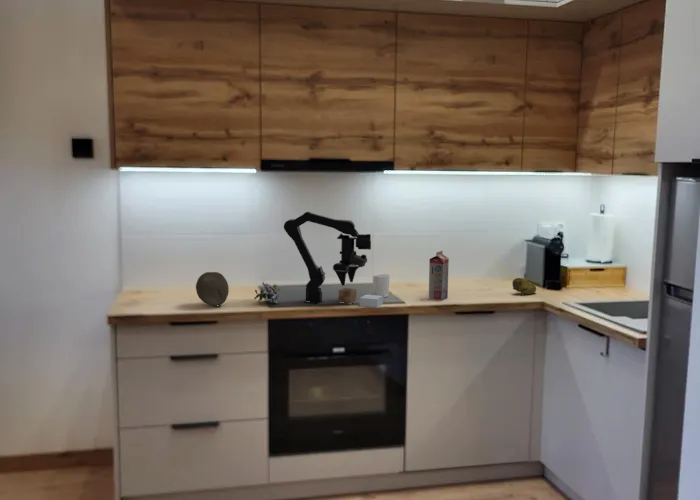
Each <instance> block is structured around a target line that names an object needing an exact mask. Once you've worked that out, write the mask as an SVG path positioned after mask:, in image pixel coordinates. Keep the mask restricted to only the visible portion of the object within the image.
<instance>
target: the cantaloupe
mask: <svg viewBox="0 0 700 500" xmlns="http://www.w3.org/2000/svg"><path fill="white" fill-rule="evenodd" d="M229 290H230V289H229V283H228V280H227V279H226V277H225V276H224V275H223V274H222V273H220V272H217V271H206V272H204V273H203V274H201V275H199V277H198V278H197V281H196V282H195V291H196V294H197V296H198V298H199V299H200V300H201V301H202V302H203V303H204V304H206V305H208V306H211V307H218V306H217V305H219V306H221V305H223V304H224V303H225V302H226V300H227V298H228V296H229V292H230V291H229Z"/></svg>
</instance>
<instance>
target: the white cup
mask: <svg viewBox="0 0 700 500" xmlns="http://www.w3.org/2000/svg"><path fill="white" fill-rule="evenodd" d="M372 287H373V288H372V289H373V295H379V296H383V298H387V296H389V290H390V274H388V273H375V274H372Z"/></svg>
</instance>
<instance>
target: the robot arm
mask: <svg viewBox="0 0 700 500" xmlns="http://www.w3.org/2000/svg"><path fill="white" fill-rule="evenodd" d="M307 222H309V223H314V224H317V225H320V226H325V227H328V228H332V229H334V230H336V231H338V232H340V234H339V235H338V236H337V237H336V238H337V239H338V240H340V241H341V247H340V248H341V249H340V251H339V254H340V255H341V256H340V257H341V259H340V260H339V262H336V263H334V265H333V266H332V271H334V272H335V273H336V276H337V277H338V279H339V282H340V285H341V286H345V284H346V279H347V276H348V280H349V283H353V281H354V279H355V275H356V272H357V270H358V269H359V268H363V267H365V266H366V263H367V262H368V258H367V255H366V254H364V253H363V254H361V255H358V254H357V251H356V250H355V248H357V249H358V250H372V238H371V237H372V236H371V235H372V234H371V233H366V234H364V233H362V234H361V233H359V231H358V230H357V229H356V227H355V226H356V225H355V223H354V222H353V220H349V219H335V218H332V217H329V216H324V215H320V214H316V213H313V212H310V211H306V212H304V213H303V214H301V215H299V216H298V217H295V218H290V219H288V220H287V221H285V222H284V224H283V229H284V231H285V233H286V234H287V235H288V237H289V238H291V239H292V241H293V243H294V244H295V247H296V248H297V250H298V252H299V255H300V256H301V258H302V260H303V262H304V264H305V266H306V268H307V272H308V276H309V279H310V280H308V281H307V283H306V285H305V301H310V302H315V303H314V304H318V303H317V302H319V303H321V302H323V301H322V300H323V291H322V288H321V286H322V285H323V283H324V281H326V272H325V271H324V270H323V267H322V265H320V266H318V265H317V264H316V262H315V260H314V258H313V256H312V254H311V252H310V249H309V248H308V246H307V244H306V241H305V240H304V238H303V236H302V231H301V226H302V225H304V224H305V223H307ZM320 301H321V302H320Z"/></svg>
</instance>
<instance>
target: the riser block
mask: <svg viewBox="0 0 700 500" xmlns="http://www.w3.org/2000/svg"><path fill="white" fill-rule="evenodd" d="M383 304H384V297H383V296H379V295H374V294H365V295H363V296H361V297H359V307H362V308H364V307H366V308H373V309H374V308H376V309H377V308H379V307H381V306H382V305H383Z"/></svg>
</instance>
